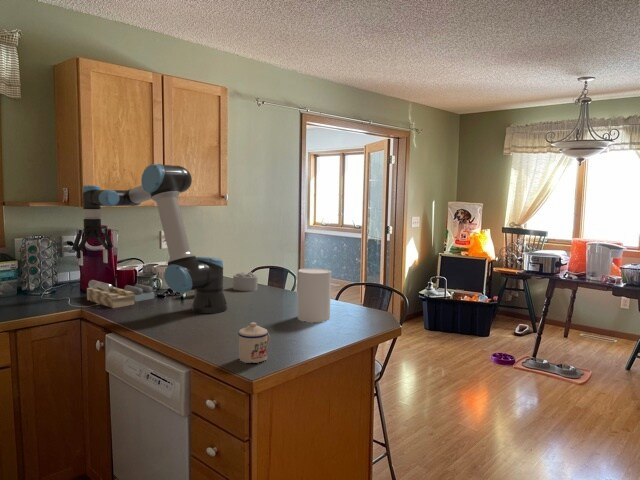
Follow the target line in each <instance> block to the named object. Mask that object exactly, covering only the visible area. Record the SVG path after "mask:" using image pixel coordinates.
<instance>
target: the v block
mask: <svg viewBox="0 0 640 480" xmlns="http://www.w3.org/2000/svg"><path fill="white" fill-rule="evenodd" d="M123 290H127V291H131V292H134V303H135V302H142V301H147V300H153V299H155V292H154V291H153V290H154V289H153V287H152V286H149V285H146V284H142V283H141V284H140V283H135V285H128V284H126V285H125V286H124V289H123Z"/></svg>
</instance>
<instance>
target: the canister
mask: <svg viewBox="0 0 640 480" xmlns="http://www.w3.org/2000/svg"><path fill="white" fill-rule="evenodd" d="M297 280H298V281H297V320H298V321H300V320H301V321H300V322H304V321H306V323H313V322H317V323H323V322H322V321H325V322H328V321H329V319H330V320H331V289H332V288H331V285H332V284H331V283H332V271H331V270H330V269H326V268H320V267H319V268H317V267H312V268H311V267H308V268H305V267H304V268H300V269H298V272H297ZM327 320H328V321H327Z"/></svg>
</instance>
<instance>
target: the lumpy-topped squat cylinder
mask: <svg viewBox="0 0 640 480" xmlns="http://www.w3.org/2000/svg"><path fill="white" fill-rule="evenodd" d="M232 276H233V277H232V279H233V282H232V286H233V287H232V288H233V290H235V291H241V292H256V291H257V290H258V276H257V274H254V272H252V271H250V272H248V273H247V272H244V271H243V272H238V273H236V274H234V275H232Z"/></svg>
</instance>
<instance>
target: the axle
mask: <svg viewBox="0 0 640 480" xmlns="http://www.w3.org/2000/svg"><path fill="white" fill-rule="evenodd" d="M87 285H88V288H95V289H98V290H102V291H105V292H109V293H110V292H112V291H113V287H114V286H113V285H112V284H110V283H107V282H102V281H98V280H95V279H90V280H89V281H88V283H87Z"/></svg>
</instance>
